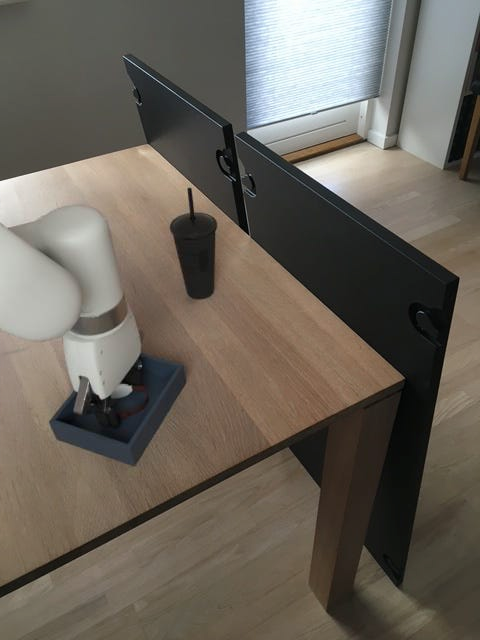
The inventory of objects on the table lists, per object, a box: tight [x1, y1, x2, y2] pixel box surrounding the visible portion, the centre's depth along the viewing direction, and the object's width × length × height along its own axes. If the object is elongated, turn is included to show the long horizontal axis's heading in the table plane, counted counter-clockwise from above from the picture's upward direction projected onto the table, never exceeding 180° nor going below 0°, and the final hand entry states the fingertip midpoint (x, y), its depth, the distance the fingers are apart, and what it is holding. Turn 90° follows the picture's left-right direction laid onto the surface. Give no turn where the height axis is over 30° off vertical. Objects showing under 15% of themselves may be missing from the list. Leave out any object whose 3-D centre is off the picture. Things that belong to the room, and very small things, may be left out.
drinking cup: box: [169, 187, 218, 300], centre depth 89 cm, size 8×8×20 cm
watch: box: [97, 384, 149, 420], centre depth 74 cm, size 8×5×4 cm, turn 107°
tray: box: [48, 352, 187, 467], centre depth 75 cm, size 15×12×4 cm
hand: (121, 405), depth 75 cm, fingers closed on watch, 6 cm apart
